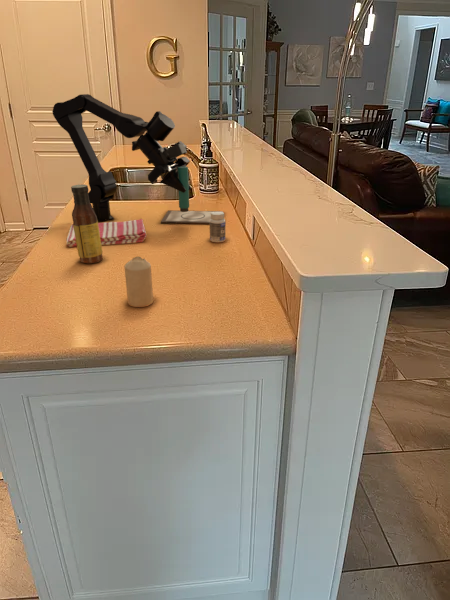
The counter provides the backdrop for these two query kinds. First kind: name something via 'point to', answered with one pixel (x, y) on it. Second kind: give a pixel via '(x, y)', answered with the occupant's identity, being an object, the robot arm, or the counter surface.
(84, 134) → the robot arm
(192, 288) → the counter surface
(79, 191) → the sauce bottle
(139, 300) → the candle
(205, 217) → the gray flat panel
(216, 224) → the pill bottle
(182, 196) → the dot marker
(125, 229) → the dish towel
